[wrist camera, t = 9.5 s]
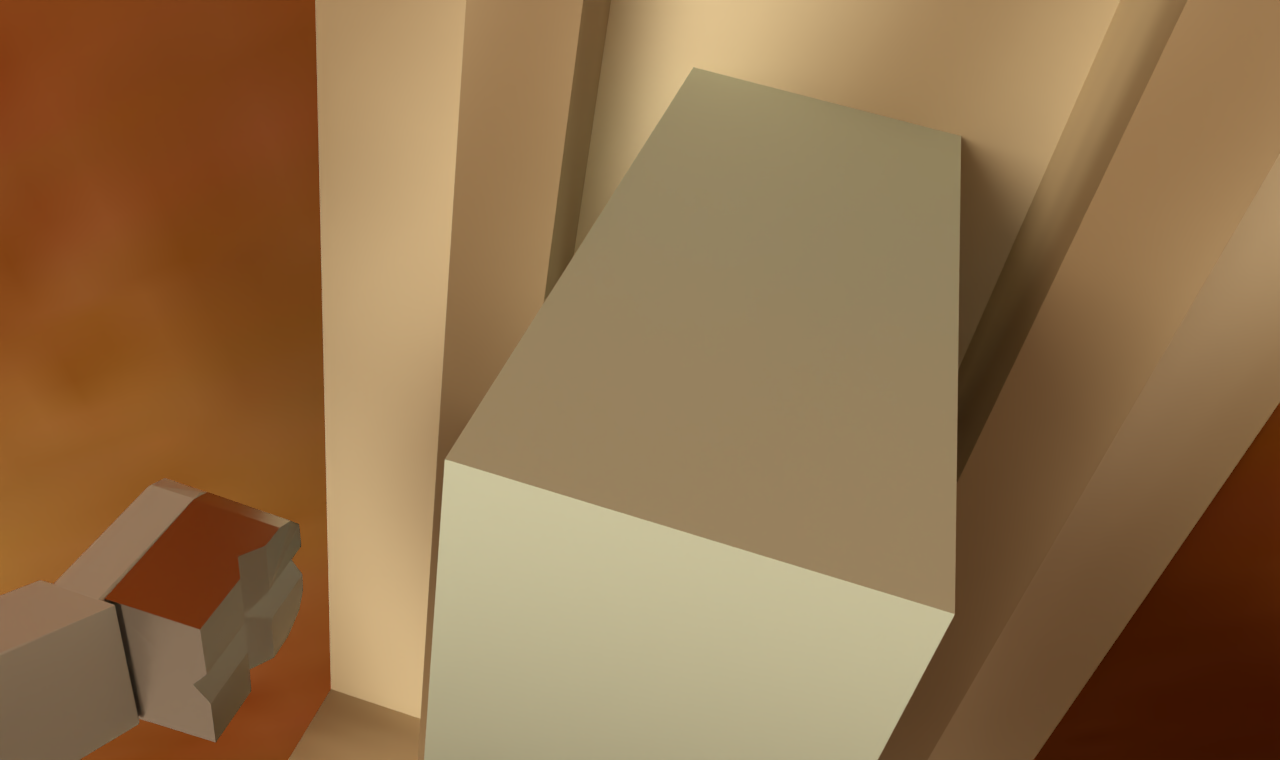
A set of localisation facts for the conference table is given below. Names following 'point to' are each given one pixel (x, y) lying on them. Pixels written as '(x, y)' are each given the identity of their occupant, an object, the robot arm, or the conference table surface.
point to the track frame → (988, 292)
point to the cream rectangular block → (717, 455)
